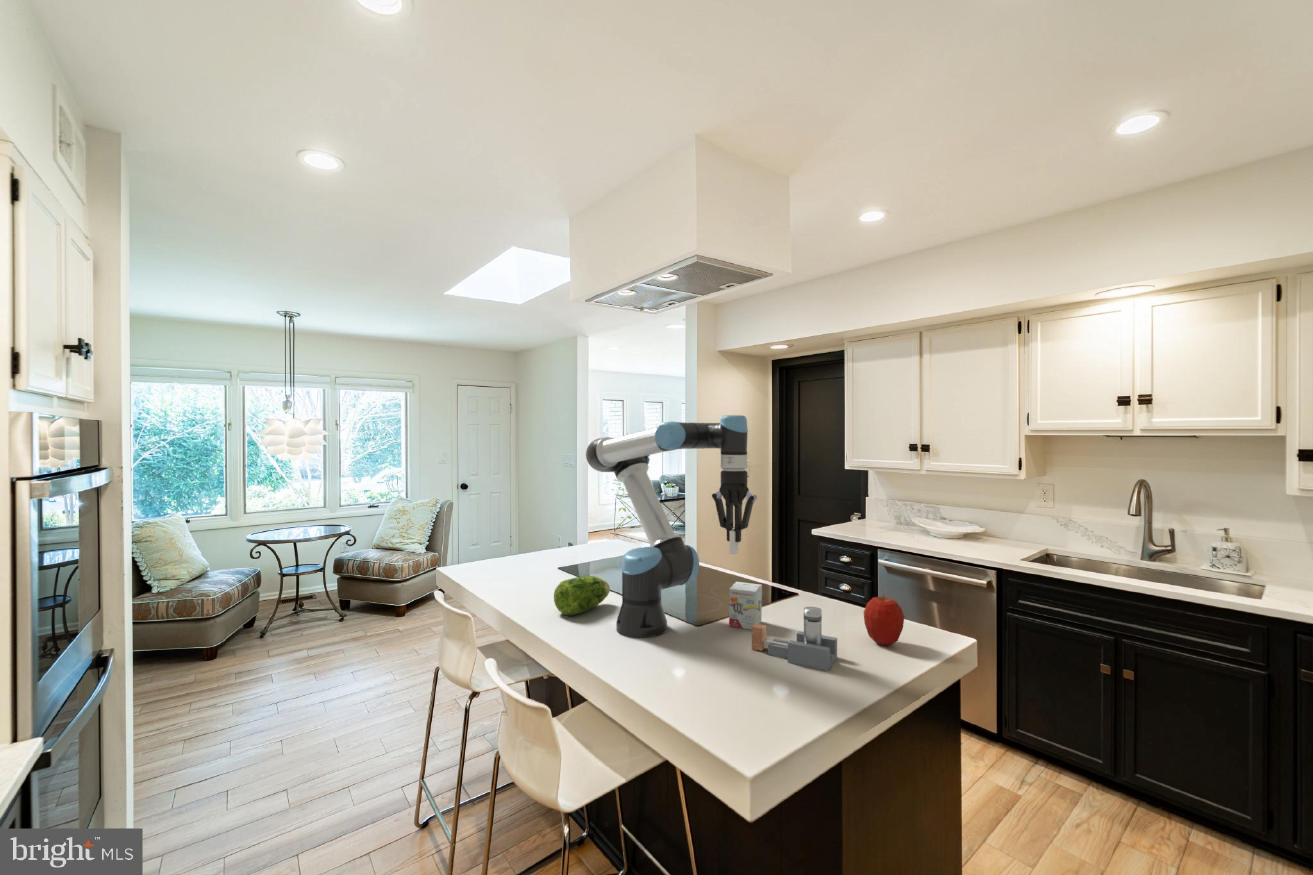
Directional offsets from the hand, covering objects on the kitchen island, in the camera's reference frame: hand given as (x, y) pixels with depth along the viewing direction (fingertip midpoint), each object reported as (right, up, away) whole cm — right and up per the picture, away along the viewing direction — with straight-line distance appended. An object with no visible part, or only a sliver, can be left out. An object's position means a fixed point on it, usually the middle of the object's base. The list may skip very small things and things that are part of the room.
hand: (733, 553), depth 157 cm
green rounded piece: (-46, -25, +27) cm, 58 cm away
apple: (+41, -25, -3) cm, 48 cm away
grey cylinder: (+18, -24, -14) cm, 34 cm away
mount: (+16, -24, -13) cm, 32 cm away
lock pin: (+10, -24, -9) cm, 28 cm away
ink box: (+5, -25, +13) cm, 28 cm away
